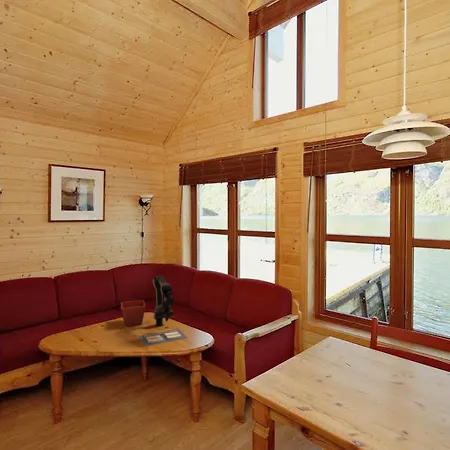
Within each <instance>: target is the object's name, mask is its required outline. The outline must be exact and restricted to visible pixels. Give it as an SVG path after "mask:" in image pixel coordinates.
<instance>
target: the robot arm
mask: <svg viewBox="0 0 450 450" xmlns="http://www.w3.org/2000/svg"><path fill="white" fill-rule="evenodd" d="M152 284H153V287H154V288H155V296H156V297H155V299H156V300H155V301H156V303H155V304H156V306H155V307H154V313H153V320H155V324H154V326H155V327H156V328H159V327H164V326H165V324H164V320H165V322H168V321H169V320H170V317H171V316H175V312H174V310H172V308H171V305H173V304H174V300H175V299H174V298H173V296H171V295H173V294H174V291H173V288H172V286H171V284H170V283H167V281H166V279H165V277H164V275H156V277H154V278H153V279H152Z"/></svg>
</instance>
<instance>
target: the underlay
mask: <svg viewBox="0 0 450 450" xmlns="http://www.w3.org/2000/svg"><path fill="white" fill-rule="evenodd" d="M175 329H176V330H177V332H178V333H179V334H180V335H181V338H176V339H171V340H168V339H167V338H166V337H165V336H164V335H162V336H161V337H162V338H163V341H161V342H156V343H151V344H149V343H148V341H147V340H146V339H145V338H144V337H143V334H142V335H138V336H137V337H138V339H139V340H140V342H141V343H142V345H143V347H145V348H146V347H151V346H155V345H161V344H165V343H172V342H174V341H180V340H185V339H188V337H187V335H186V334H184V333H183V332H182V331H181V329H179V328H175Z"/></svg>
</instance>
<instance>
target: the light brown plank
mask: <svg viewBox="0 0 450 450" xmlns="http://www.w3.org/2000/svg"><path fill="white" fill-rule="evenodd" d="M176 329H177V328H174V327H173V328H170V329H163V330H159V331H158V330H157V331H152V332H148V333H147V332H146V333H143V334H142V335H143V337H144V338H145V339H146V337H150V336H155V335H160V336H162V335H164V334H165V333H170V332H176V331H177V330H176Z"/></svg>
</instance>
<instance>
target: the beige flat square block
mask: <svg viewBox="0 0 450 450" xmlns="http://www.w3.org/2000/svg"><path fill="white" fill-rule="evenodd" d="M164 336H165V337H166V338H167V339H168V340H171V339H176V338H181V335H180V334H179V333H178V332H177V331H176V332H170V333H165V334H164Z"/></svg>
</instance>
